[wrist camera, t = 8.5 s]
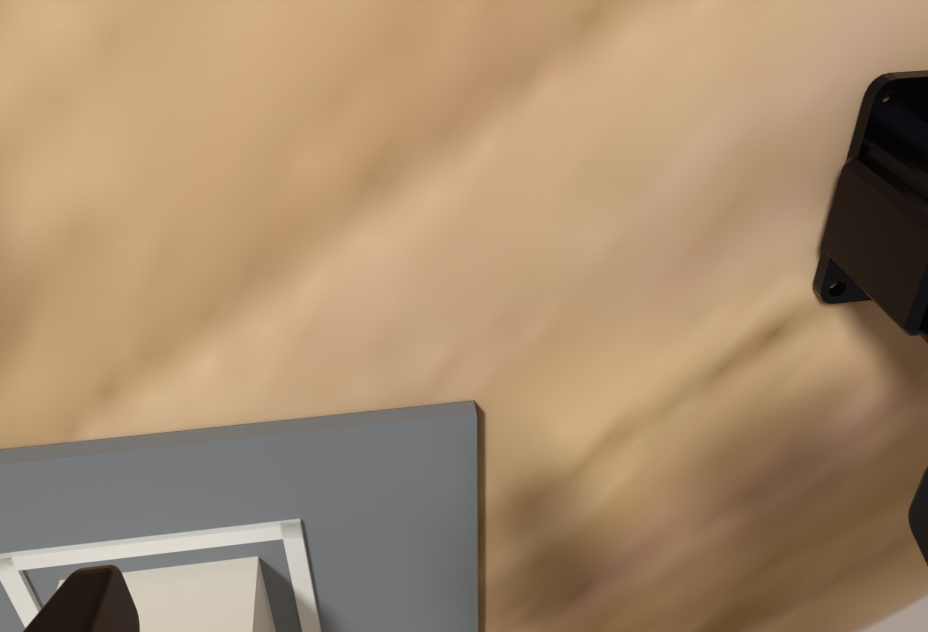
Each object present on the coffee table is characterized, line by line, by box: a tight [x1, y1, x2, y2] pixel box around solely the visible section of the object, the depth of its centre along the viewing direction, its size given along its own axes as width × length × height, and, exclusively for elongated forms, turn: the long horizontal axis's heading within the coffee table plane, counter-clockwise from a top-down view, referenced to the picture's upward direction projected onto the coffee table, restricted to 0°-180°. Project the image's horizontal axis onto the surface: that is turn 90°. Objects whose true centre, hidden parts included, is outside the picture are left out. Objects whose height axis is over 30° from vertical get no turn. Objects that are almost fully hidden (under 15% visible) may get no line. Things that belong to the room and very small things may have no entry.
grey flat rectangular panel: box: [0, 401, 478, 632], centre depth 27 cm, size 16×12×1 cm
